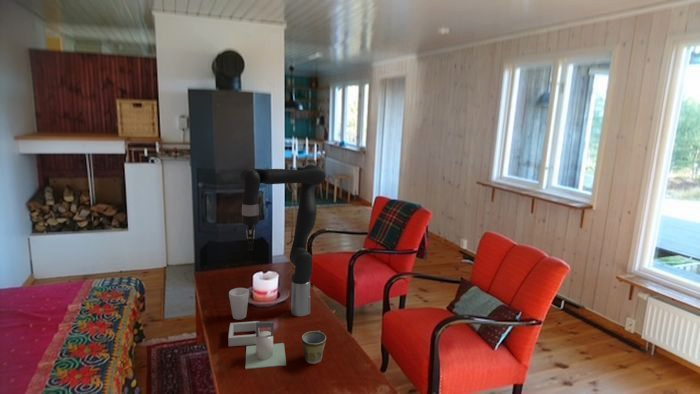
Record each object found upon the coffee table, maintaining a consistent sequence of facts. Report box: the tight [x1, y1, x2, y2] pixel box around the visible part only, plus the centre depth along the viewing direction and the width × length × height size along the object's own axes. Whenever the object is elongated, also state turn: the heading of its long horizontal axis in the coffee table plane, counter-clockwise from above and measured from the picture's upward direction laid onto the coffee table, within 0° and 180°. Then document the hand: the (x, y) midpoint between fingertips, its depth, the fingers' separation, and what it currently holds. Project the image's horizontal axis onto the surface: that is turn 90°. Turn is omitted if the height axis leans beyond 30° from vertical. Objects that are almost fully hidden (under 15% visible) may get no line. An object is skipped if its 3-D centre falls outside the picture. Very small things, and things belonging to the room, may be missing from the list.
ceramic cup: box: [301, 329, 327, 365], centre depth 174 cm, size 13×10×10 cm
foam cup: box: [228, 287, 250, 321], centre depth 205 cm, size 10×9×13 cm
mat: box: [244, 342, 287, 370], centre depth 174 cm, size 16×16×1 cm
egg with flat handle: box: [255, 320, 275, 360], centre depth 172 cm, size 7×7×15 cm
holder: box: [227, 320, 260, 347], centre depth 187 cm, size 13×13×4 cm
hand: (250, 247), depth 192 cm, fingers open, 8 cm apart
